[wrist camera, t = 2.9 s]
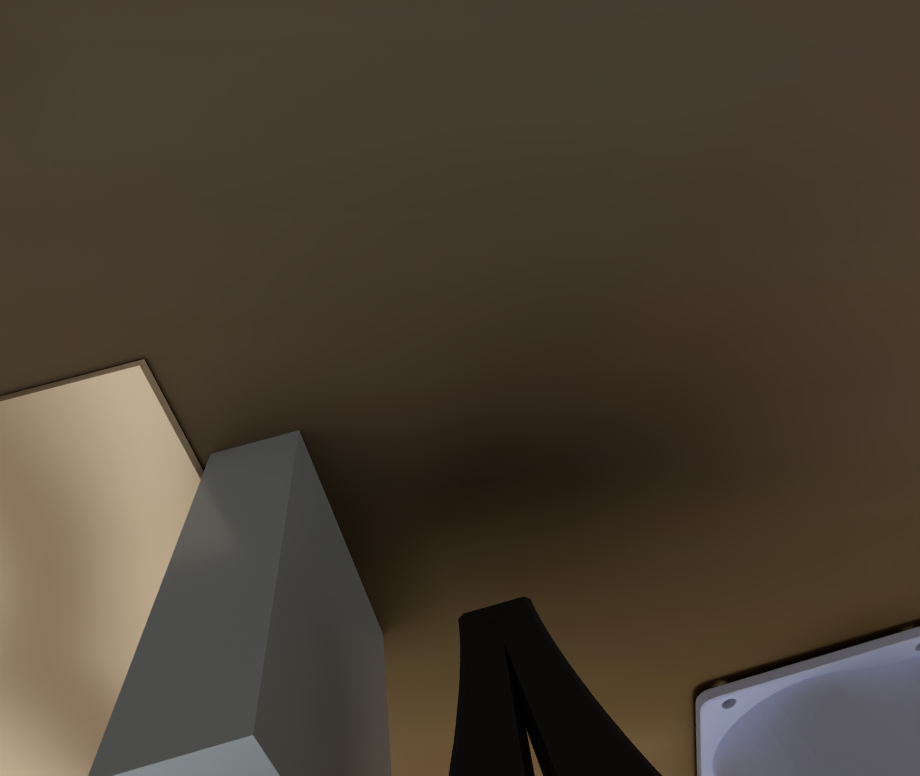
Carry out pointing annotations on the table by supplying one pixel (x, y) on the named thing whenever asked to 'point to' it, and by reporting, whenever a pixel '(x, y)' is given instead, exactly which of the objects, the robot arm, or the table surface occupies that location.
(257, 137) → the table surface
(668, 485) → the table surface
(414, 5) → the table surface
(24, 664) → the cork mat
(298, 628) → the square picture frame
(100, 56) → the table surface
